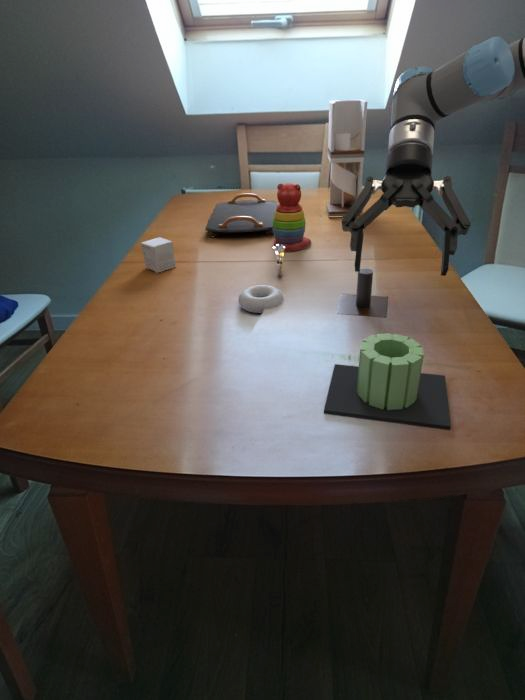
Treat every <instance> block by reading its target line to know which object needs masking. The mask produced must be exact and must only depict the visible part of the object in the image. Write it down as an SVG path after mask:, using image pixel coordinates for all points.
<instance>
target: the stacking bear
mask: <svg viewBox="0 0 525 700" xmlns="http://www.w3.org/2000/svg"><path fill="white" fill-rule="evenodd" d="M276 189H277V193H276V197H277V202H278V206H277V207H276V210H275V213H274V218H273V229H272V230H273V236H274V241H273V247H274V246H276V244H277V245H278V243H279V246H281V244H283V246H285V249H284V253H285V252H287V253H289V252H290V253H291V252H298V251H302V250H304V249H306V248H308V247H310V246H311V245H312V240H311V239H310V238H309V237H306V236H304V235H305V232H306V224H307V223H306V217H305V212H304V209H303V207H302V205H301V204H300V201H301V199H302V190H301V189H302V188H301V185H299V184H297V183H296V184H294V183H284V184H283V183H279V184H277V188H276ZM282 249H283V248H282Z"/></svg>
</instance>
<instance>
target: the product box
mask: <svg viewBox="0 0 525 700" xmlns="http://www.w3.org/2000/svg"><path fill="white" fill-rule="evenodd" d="M140 244H141V250H142V255H143V261H144V267H146V268H149V269H151V270H153V271H155V272H154V273H156V272H157V273H156V274H159V273H158V272H161V271H164V270H167V269H170V268H172V269H174V268H173V267H175V268H176V267H177V266H176V258H175V251H174V243H173V241H172V240H168V239H166V238H163V237H160V236H159V237H155V238H152V239H151V238H150V239H148V240H145V241H142V242H141V243H140ZM146 268H145V269H146ZM149 269H148V270H149ZM151 270H150V271H151ZM170 270H171V269H170ZM153 271H152V272H153ZM167 271H168V270H167ZM164 272H165V271H164ZM161 273H162V272H161Z"/></svg>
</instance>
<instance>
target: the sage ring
mask: <svg viewBox="0 0 525 700" xmlns="http://www.w3.org/2000/svg"><path fill="white" fill-rule="evenodd" d="M423 362H424V347H423V346H422V344H420V343H419V342H418V341H417V340H415V339H414V338H410V337H409V336H406V335H402V334H397V333H393V334H391V333H390V332H388V333H387V332H386V333H376V334H375V335H374V334H372V335H370V336H368V337H366V338H364V339H363V340H362V341H361V342H360V347H359V358H358V367H359V371H358V384H357V393H358V395H359V396H360V398H361V399H362V400H363V401H364V402H365V403H367V402H369V405H371V406H374V407H377V408H380V409H384V408H385V406H386V408H387V410H395V409H403V407H405V408H407V407H408V406H410V405H411V404H413V403H414V402H415V400H416V399H417V393H418V387H419V381H420V375H421V373H422V367H423Z"/></svg>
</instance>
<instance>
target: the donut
mask: <svg viewBox="0 0 525 700" xmlns="http://www.w3.org/2000/svg"><path fill="white" fill-rule="evenodd" d="M282 303H284V294H283V292H282V291H281V290H280V289H279V288H277V287H275V286H272V285H267V284H266V285H265V284H261V285H260V284H257V285H252V286H249V287H246V288H245V289H243V290H241V292H240V293H239V295H238V304H239V307H240V308H242V310H244V311H246V312H249V313H255V314H263V313H264V311H265V310H269V309H273V308H276V307H278V306H280V305H281V304H282Z"/></svg>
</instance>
